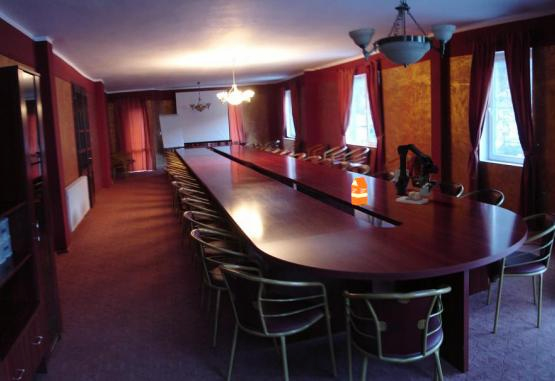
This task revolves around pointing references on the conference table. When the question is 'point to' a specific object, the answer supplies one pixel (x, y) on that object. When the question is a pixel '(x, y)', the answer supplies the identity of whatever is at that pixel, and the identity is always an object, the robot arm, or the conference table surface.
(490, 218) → the conference table surface
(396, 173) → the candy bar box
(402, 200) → the grey tray
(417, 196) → the birch block
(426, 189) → the teal block
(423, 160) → the robot arm
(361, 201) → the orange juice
